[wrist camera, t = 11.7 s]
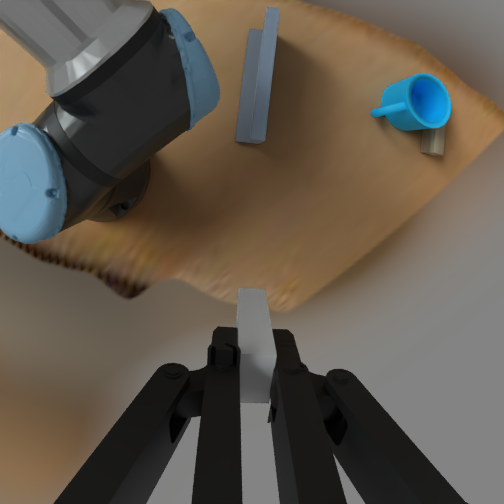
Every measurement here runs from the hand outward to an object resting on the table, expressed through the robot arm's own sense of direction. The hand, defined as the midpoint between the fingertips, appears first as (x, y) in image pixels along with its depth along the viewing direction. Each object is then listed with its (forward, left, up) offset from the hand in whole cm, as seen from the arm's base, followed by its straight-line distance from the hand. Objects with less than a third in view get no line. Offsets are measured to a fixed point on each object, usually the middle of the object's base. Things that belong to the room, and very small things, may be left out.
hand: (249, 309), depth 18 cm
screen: (-1, +20, -29) cm, 36 cm away
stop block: (+28, +20, -29) cm, 46 cm away
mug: (+22, +20, -30) cm, 42 cm away
